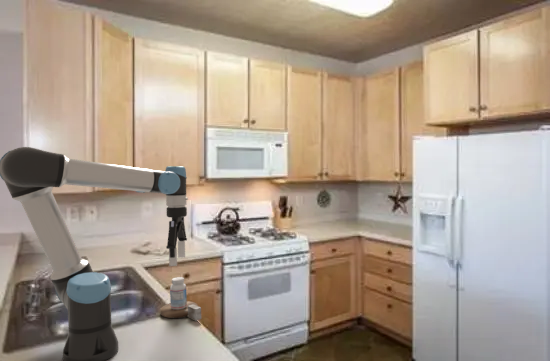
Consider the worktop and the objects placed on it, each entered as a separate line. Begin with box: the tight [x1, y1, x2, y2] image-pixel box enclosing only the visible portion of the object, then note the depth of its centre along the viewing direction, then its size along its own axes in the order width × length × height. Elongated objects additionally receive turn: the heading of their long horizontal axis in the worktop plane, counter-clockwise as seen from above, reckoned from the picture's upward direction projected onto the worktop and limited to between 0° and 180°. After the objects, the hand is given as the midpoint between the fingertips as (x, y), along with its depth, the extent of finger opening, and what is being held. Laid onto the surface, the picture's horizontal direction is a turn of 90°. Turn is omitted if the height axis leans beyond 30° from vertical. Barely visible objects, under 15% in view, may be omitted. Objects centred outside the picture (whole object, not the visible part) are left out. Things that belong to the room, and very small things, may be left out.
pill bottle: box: [169, 276, 188, 310], centre depth 147 cm, size 6×6×11 cm
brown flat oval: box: [159, 300, 202, 321], centre depth 145 cm, size 20×14×4 cm
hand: (177, 261), depth 146 cm, fingers open, 13 cm apart
